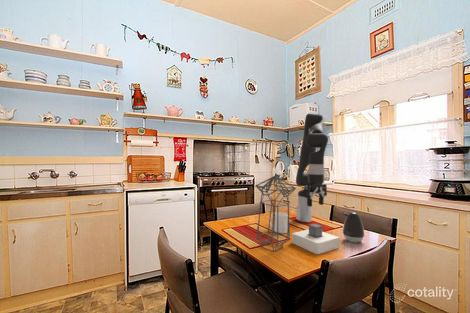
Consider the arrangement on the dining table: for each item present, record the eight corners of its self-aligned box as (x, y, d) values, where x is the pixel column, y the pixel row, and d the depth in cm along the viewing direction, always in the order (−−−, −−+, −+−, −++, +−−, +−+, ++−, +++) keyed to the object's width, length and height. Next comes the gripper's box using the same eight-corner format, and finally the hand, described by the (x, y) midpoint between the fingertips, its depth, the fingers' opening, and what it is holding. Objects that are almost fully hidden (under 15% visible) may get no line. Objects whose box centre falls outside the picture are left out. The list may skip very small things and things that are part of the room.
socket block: (291, 243, 118) (291, 233, 118) (312, 237, 127) (312, 228, 127) (317, 254, 105) (317, 243, 105) (339, 247, 113) (339, 237, 113)
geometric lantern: (269, 239, 123) (272, 174, 123) (295, 248, 112) (298, 177, 112) (249, 246, 112) (252, 174, 112) (275, 257, 101) (279, 178, 101)
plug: (308, 244, 116) (308, 224, 116) (314, 243, 119) (314, 223, 119) (315, 247, 113) (316, 227, 113) (321, 245, 115) (322, 225, 115)
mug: (266, 231, 136) (266, 214, 136) (269, 227, 143) (270, 211, 143) (286, 234, 131) (287, 216, 131) (289, 230, 139) (289, 213, 139)
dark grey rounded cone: (345, 236, 130) (345, 209, 130) (365, 240, 123) (366, 212, 123) (339, 241, 122) (340, 212, 122) (361, 246, 115) (362, 215, 115)
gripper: (319, 172, 122) (318, 202, 123) (300, 173, 115) (299, 205, 115) (331, 173, 116) (330, 205, 116) (312, 174, 109) (311, 208, 109)
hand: (315, 205), depth 116 cm, fingers open, 8 cm apart
